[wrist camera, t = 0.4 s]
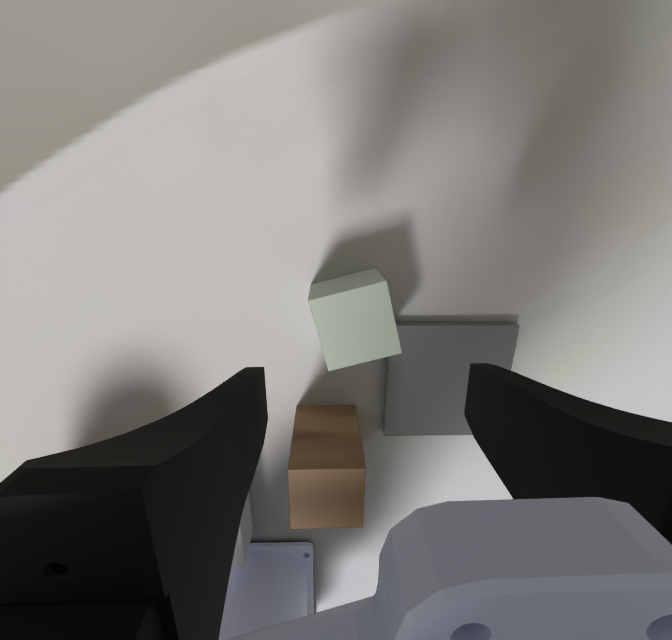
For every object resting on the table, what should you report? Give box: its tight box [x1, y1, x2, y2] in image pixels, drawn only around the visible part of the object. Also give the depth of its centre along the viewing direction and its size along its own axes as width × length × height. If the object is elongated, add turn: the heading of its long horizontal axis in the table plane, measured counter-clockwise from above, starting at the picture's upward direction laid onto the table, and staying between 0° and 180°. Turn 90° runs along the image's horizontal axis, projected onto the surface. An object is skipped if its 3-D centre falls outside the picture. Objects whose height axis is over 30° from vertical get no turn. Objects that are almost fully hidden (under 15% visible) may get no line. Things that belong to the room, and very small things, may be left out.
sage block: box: [308, 268, 402, 371], centre depth 19 cm, size 4×4×4 cm
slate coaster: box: [383, 322, 519, 436], centre depth 23 cm, size 8×8×1 cm
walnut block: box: [288, 405, 365, 529], centre depth 21 cm, size 4×4×6 cm
